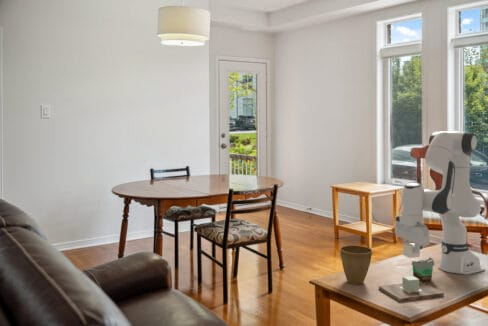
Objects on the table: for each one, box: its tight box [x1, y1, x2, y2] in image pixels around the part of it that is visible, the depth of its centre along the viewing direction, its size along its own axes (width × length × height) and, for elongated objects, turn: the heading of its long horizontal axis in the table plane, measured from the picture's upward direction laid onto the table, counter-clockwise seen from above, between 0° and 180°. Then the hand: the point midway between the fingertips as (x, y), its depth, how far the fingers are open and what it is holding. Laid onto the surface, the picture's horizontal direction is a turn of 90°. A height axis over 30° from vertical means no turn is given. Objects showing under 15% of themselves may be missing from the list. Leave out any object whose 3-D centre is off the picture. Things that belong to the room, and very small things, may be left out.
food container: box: [411, 257, 435, 284], centre depth 225 cm, size 12×6×10 cm, turn 118°
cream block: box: [402, 242, 421, 259], centre depth 209 cm, size 5×5×5 cm
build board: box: [378, 281, 445, 303], centre depth 210 cm, size 22×16×2 cm
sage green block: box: [402, 275, 419, 292], centre depth 210 cm, size 5×5×5 cm
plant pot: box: [339, 244, 373, 285], centre depth 225 cm, size 15×15×16 cm
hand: (411, 251), depth 209 cm, fingers closed on cream block, 5 cm apart
